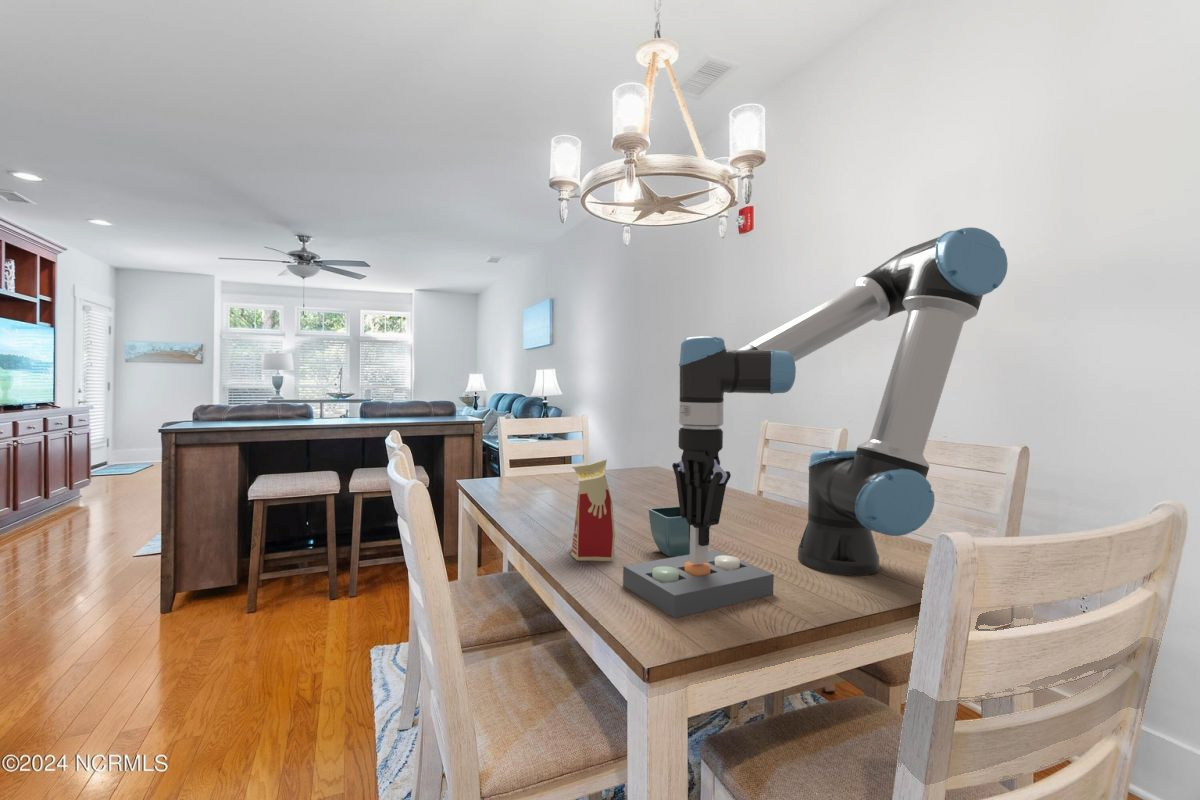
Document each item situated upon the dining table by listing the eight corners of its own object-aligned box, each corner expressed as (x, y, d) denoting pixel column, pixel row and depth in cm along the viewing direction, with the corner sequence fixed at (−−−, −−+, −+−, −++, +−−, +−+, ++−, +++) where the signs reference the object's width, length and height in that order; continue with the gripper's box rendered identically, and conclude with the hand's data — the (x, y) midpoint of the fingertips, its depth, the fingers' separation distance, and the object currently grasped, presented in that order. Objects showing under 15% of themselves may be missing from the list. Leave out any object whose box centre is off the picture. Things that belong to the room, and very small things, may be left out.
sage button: (668, 579, 94) (668, 564, 94) (683, 588, 90) (684, 572, 90) (647, 583, 92) (647, 568, 92) (662, 592, 88) (662, 576, 88)
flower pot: (646, 549, 117) (647, 508, 117) (682, 545, 120) (683, 505, 120) (665, 561, 109) (666, 517, 109) (703, 557, 112) (704, 514, 112)
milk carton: (613, 547, 118) (614, 456, 117) (615, 561, 108) (617, 462, 108) (571, 547, 117) (572, 455, 117) (570, 561, 108) (571, 461, 108)
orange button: (698, 573, 97) (699, 559, 97) (715, 581, 93) (715, 566, 93) (679, 577, 95) (679, 562, 95) (695, 585, 91) (695, 570, 91)
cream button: (727, 568, 100) (728, 554, 100) (744, 575, 96) (745, 561, 96) (709, 571, 98) (709, 557, 98) (725, 579, 94) (726, 564, 94)
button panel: (714, 567, 106) (715, 550, 106) (773, 594, 93) (773, 574, 92) (623, 585, 96) (623, 565, 95) (674, 618, 82) (674, 595, 82)
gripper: (660, 424, 97) (659, 554, 98) (708, 430, 86) (706, 577, 86) (693, 423, 101) (691, 549, 101) (743, 429, 89) (741, 570, 90)
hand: (698, 562), depth 94 cm, fingers closed
